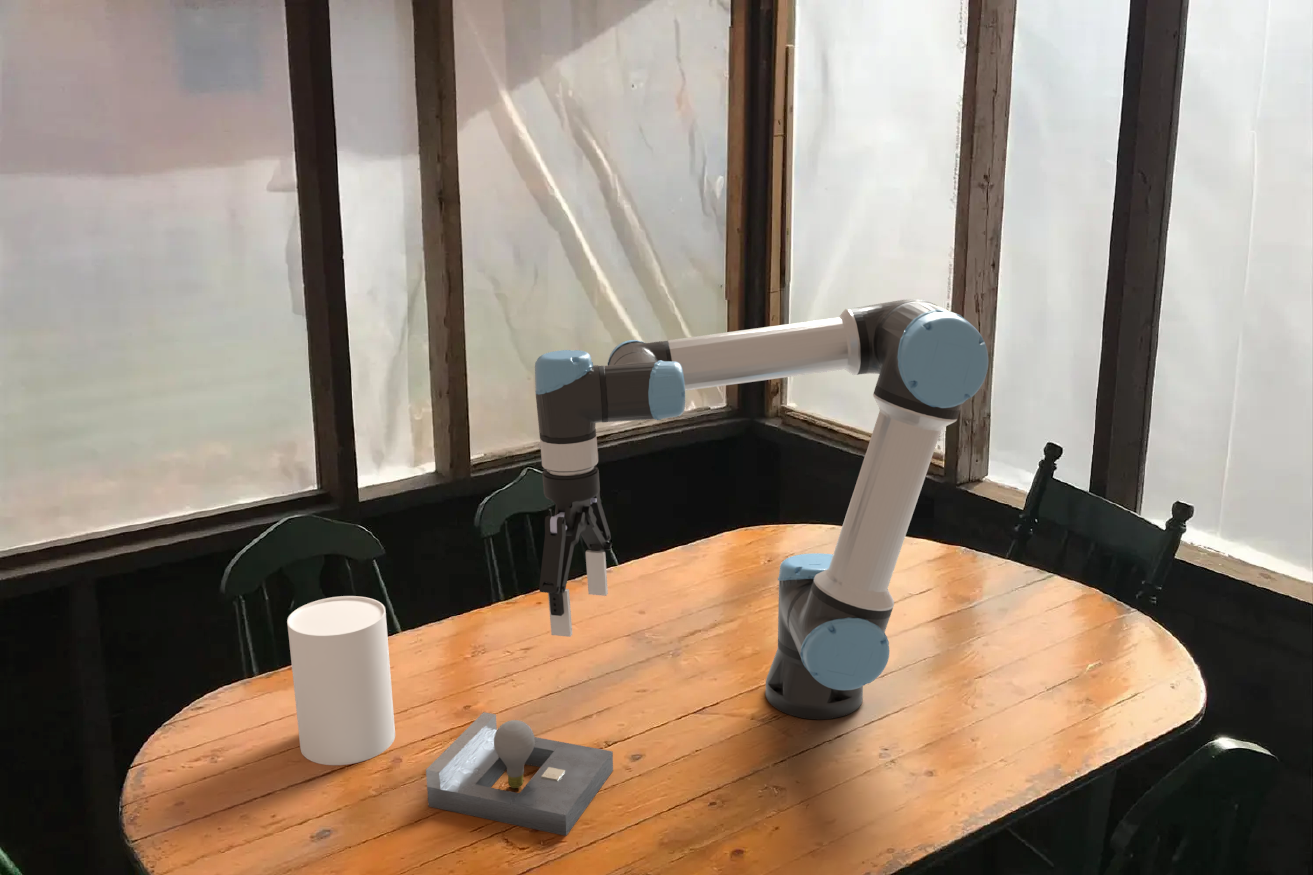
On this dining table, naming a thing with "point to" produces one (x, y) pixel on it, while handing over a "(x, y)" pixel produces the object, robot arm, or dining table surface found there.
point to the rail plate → (546, 797)
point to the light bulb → (514, 748)
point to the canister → (342, 679)
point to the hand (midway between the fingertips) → (580, 613)
